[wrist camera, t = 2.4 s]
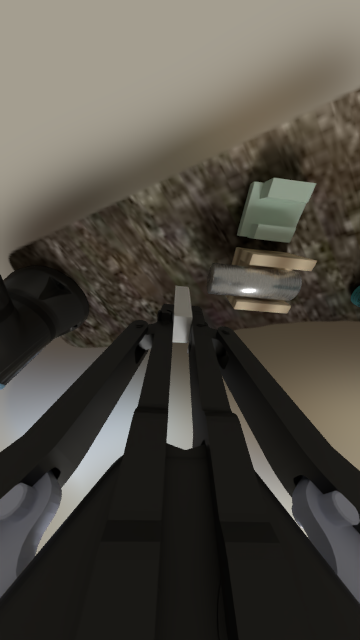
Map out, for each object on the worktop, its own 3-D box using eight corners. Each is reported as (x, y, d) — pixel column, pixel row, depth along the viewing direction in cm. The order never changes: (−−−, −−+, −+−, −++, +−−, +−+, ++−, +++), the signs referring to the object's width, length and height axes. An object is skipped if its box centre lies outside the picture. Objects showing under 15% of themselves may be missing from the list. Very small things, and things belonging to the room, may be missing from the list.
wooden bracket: (223, 292, 33) (234, 308, 27) (236, 247, 28) (252, 254, 22) (266, 296, 34) (287, 313, 27) (286, 252, 29) (317, 260, 22)
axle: (205, 287, 29) (210, 298, 24) (211, 259, 26) (217, 267, 22) (275, 293, 29) (290, 305, 25) (287, 267, 27) (307, 276, 23)
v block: (236, 235, 27) (244, 237, 24) (250, 182, 23) (263, 176, 20) (283, 241, 27) (298, 243, 24) (305, 190, 24) (326, 185, 20)
